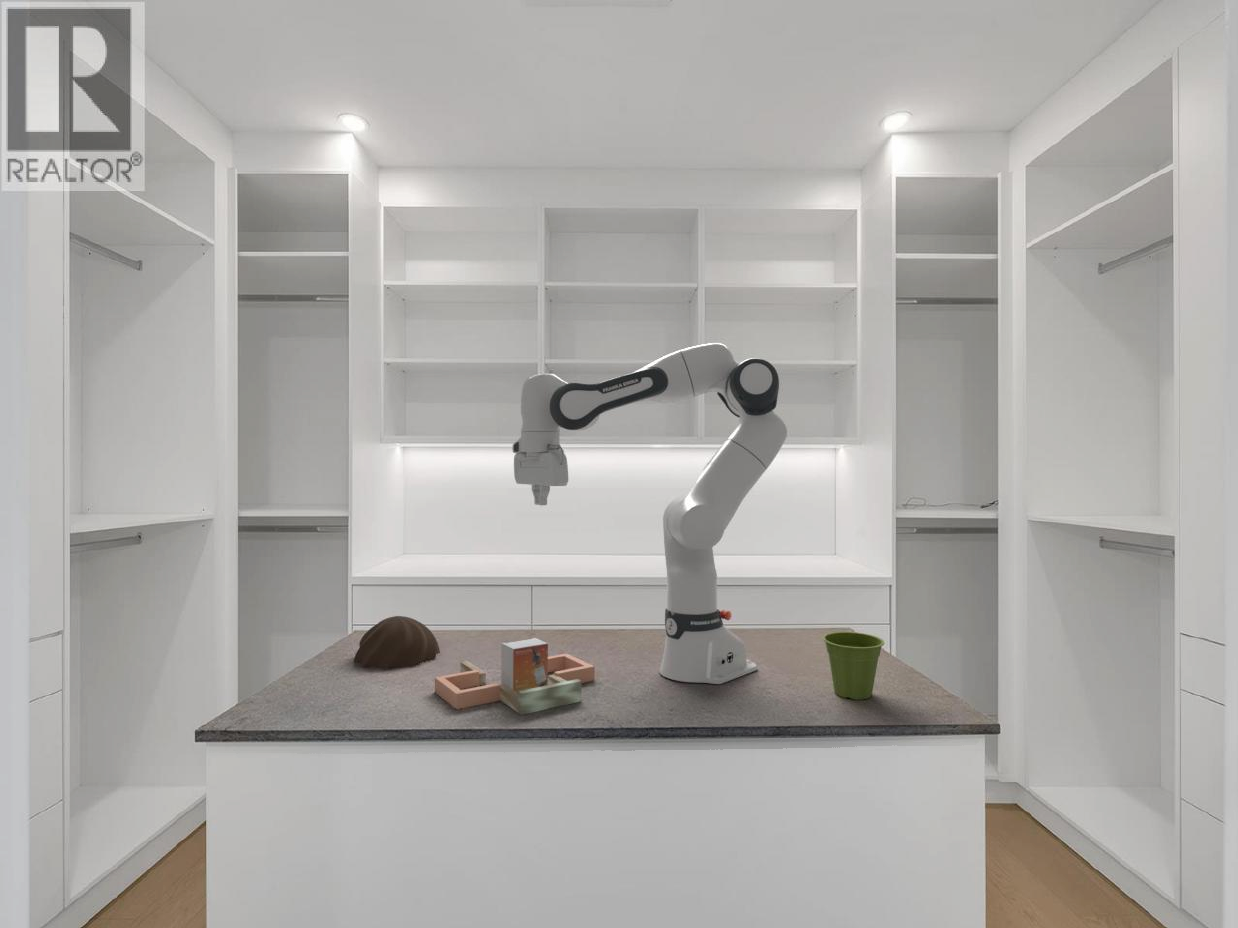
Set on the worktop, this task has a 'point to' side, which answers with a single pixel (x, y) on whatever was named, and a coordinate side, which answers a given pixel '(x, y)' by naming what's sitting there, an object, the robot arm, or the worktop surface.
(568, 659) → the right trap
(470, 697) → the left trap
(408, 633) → the decorative dome
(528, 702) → the trap lane
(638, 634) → the worktop surface
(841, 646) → the plant pot
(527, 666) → the small box
